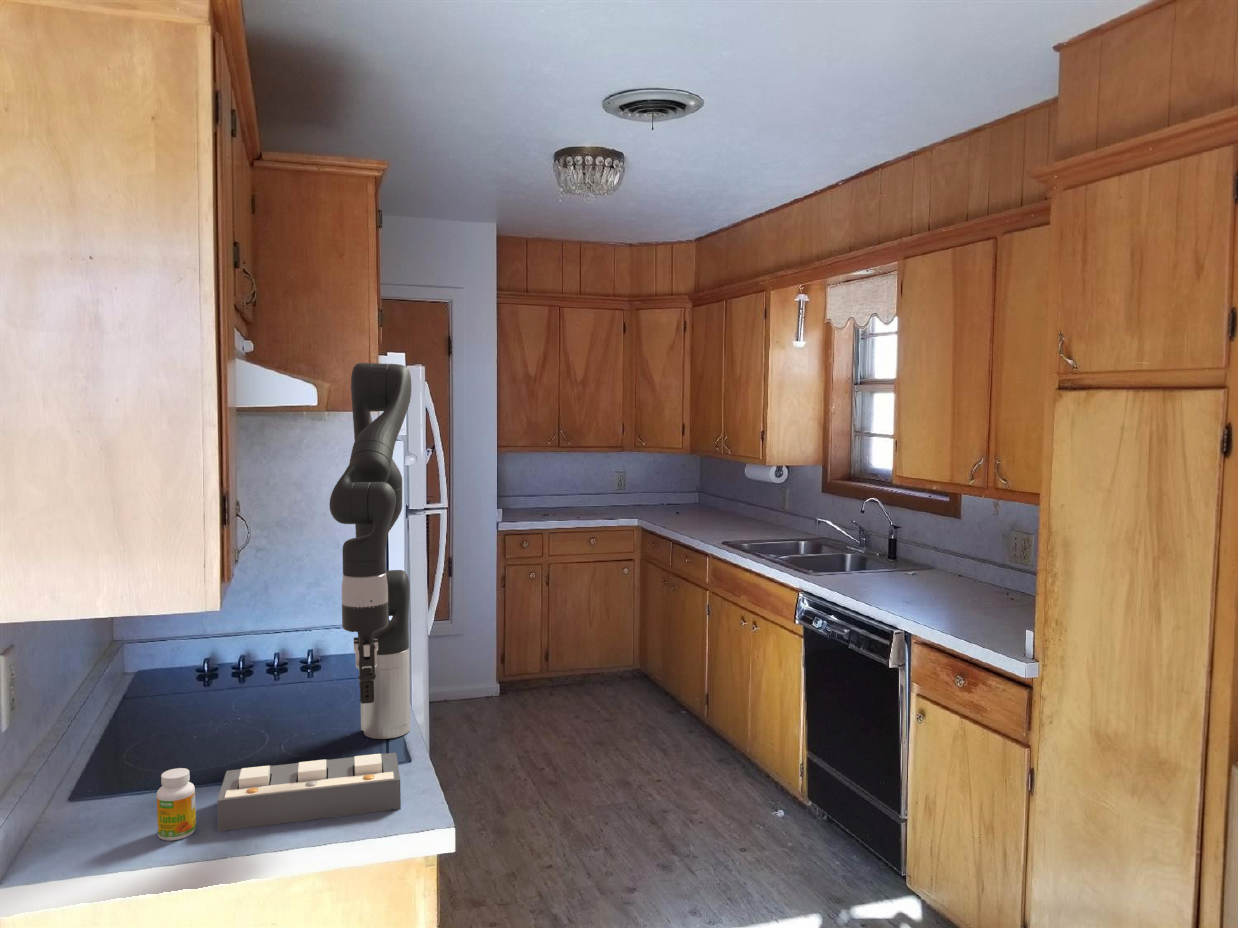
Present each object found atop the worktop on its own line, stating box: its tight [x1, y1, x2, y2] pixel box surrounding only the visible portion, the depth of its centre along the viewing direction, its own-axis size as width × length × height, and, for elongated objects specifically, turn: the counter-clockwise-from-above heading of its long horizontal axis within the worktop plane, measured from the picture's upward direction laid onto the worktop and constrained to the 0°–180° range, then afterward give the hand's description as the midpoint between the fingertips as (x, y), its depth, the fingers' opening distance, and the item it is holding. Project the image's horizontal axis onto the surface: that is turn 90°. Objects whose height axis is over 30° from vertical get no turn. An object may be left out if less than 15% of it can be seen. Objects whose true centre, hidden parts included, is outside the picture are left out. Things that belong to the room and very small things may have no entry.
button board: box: [216, 752, 402, 833], centre depth 152 cm, size 28×12×5 cm, turn 107°
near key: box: [239, 764, 271, 789], centre depth 149 cm, size 4×4×3 cm
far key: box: [353, 753, 382, 776], centre depth 155 cm, size 4×4×3 cm
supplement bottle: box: [156, 767, 197, 842], centre depth 142 cm, size 5×5×10 cm
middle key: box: [298, 759, 327, 782], centre depth 152 cm, size 4×4×3 cm
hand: (366, 694), depth 154 cm, fingers open, 7 cm apart
